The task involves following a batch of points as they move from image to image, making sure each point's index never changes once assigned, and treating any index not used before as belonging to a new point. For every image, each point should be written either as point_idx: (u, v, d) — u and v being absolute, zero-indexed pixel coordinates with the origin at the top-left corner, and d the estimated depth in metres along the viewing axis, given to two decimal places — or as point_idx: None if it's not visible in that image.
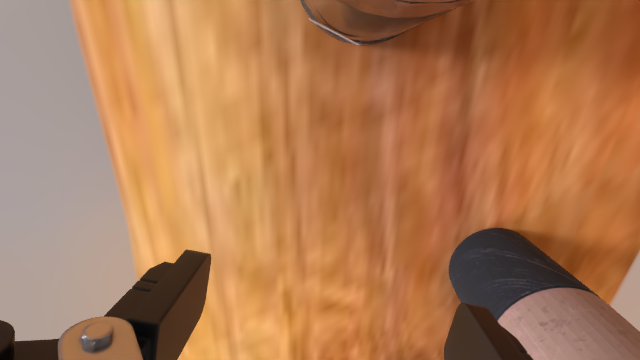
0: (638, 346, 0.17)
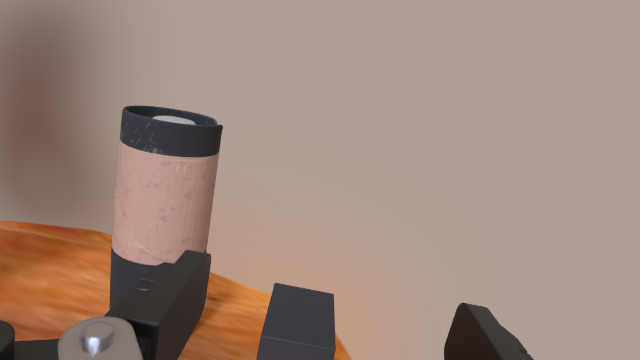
0: None
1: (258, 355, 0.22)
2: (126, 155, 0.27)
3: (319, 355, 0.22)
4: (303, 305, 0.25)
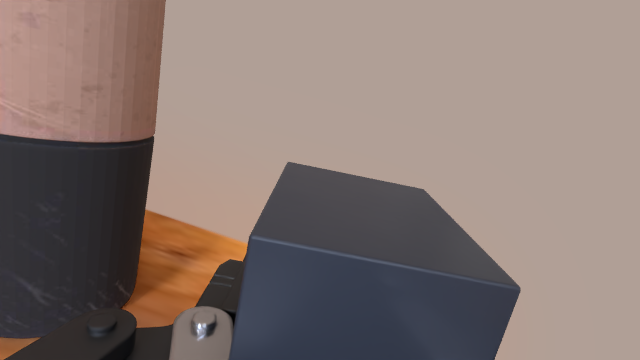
0: None
1: (240, 311, 0.06)
2: None
3: (460, 308, 0.06)
4: (366, 194, 0.09)
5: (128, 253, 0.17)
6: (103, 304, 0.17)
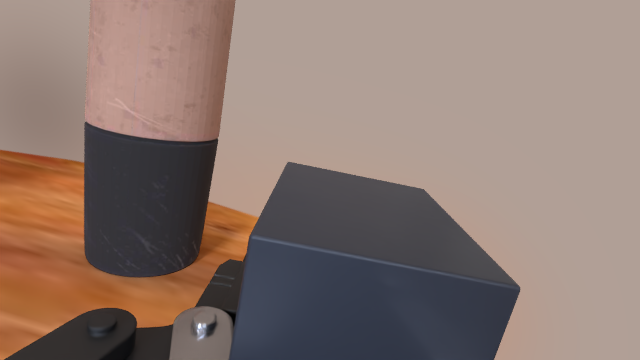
0: None
1: (241, 311, 0.06)
2: None
3: (460, 308, 0.06)
4: (366, 194, 0.09)
5: (200, 221, 0.24)
6: (184, 256, 0.23)
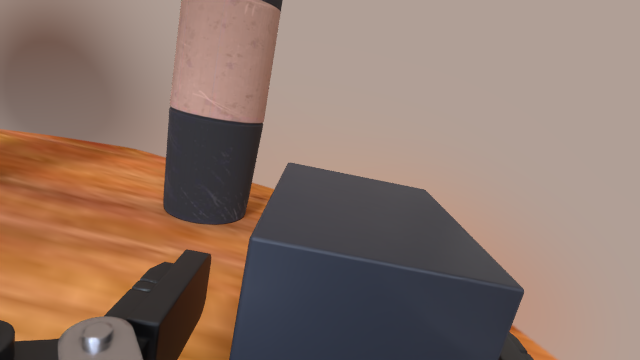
0: None
1: (241, 313, 0.06)
2: None
3: (463, 310, 0.06)
4: (367, 195, 0.09)
5: (249, 185, 0.32)
6: (238, 211, 0.31)
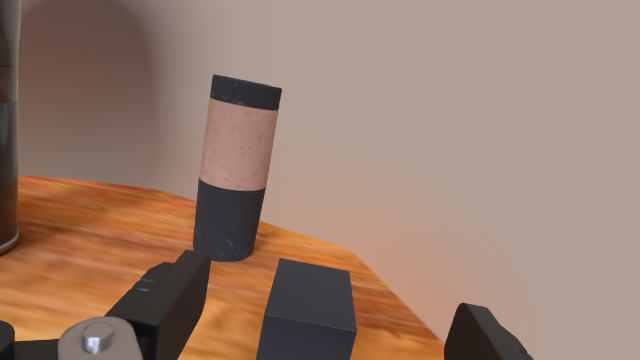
0: None
1: (261, 338, 0.17)
2: (218, 107, 0.37)
3: (336, 337, 0.17)
4: (314, 281, 0.21)
5: (256, 231, 0.43)
6: (248, 251, 0.43)
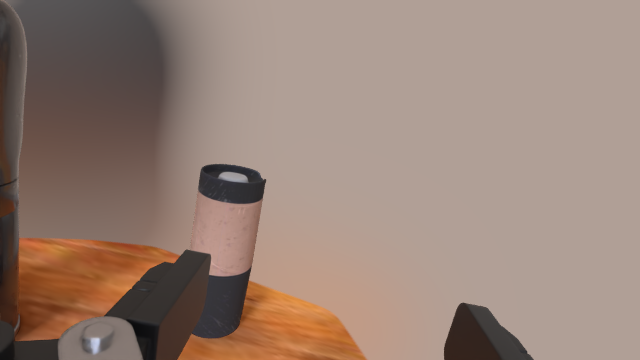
0: None
1: None
2: (205, 203, 0.40)
3: None
4: None
5: (242, 306, 0.46)
6: (234, 325, 0.45)
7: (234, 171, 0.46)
